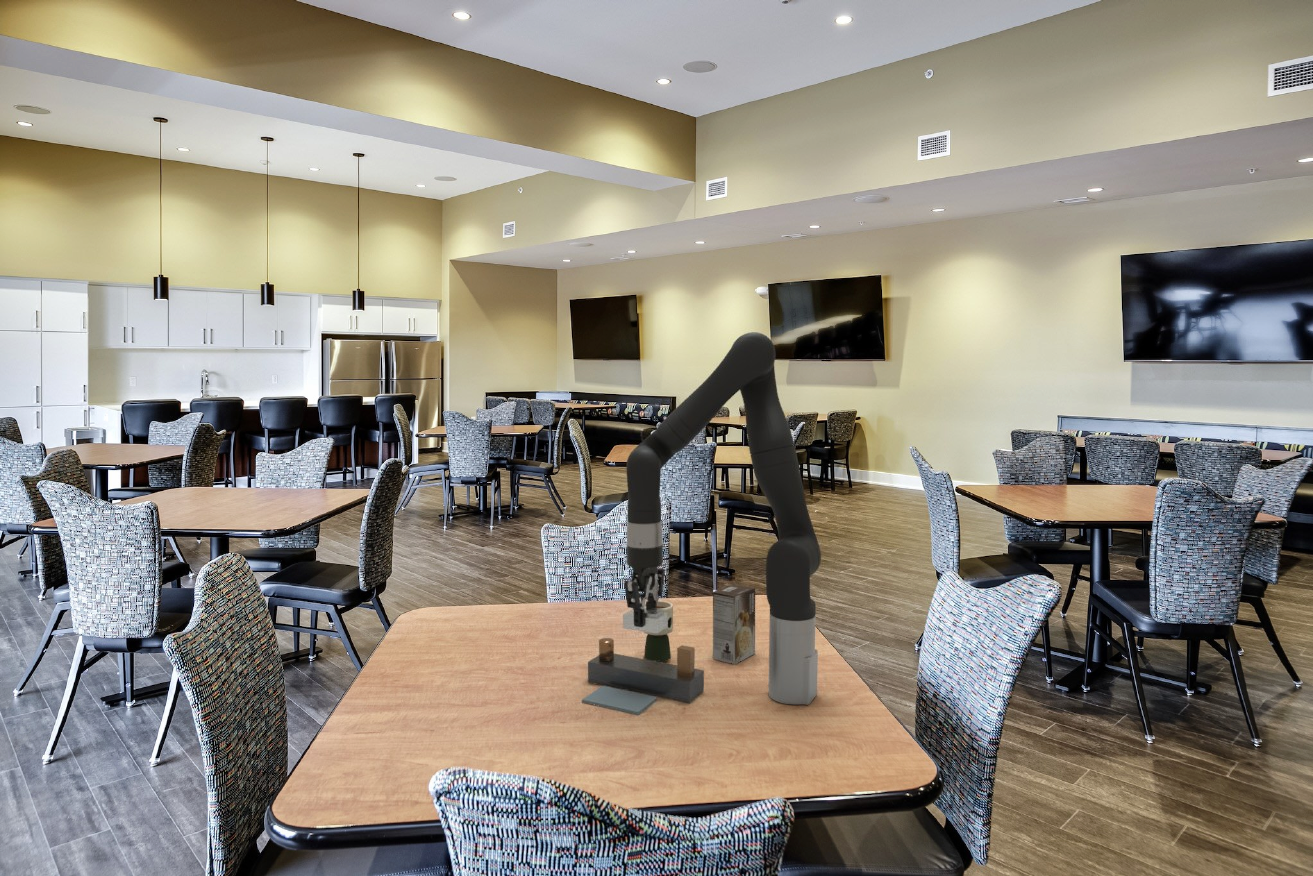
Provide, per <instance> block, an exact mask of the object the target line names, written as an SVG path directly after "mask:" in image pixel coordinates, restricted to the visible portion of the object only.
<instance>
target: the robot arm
mask: <svg viewBox="0 0 1313 876" xmlns="http://www.w3.org/2000/svg"><path fill="white" fill-rule="evenodd" d="M775 361H776V347H775V344H774V343H773V342H772V340H771V338H770V337H768V336H767V335H766V334H763V333H761V332H754V331H751V332H747V333H744V334H741V335H740V336H739V337H738V338H737V339H736V340H735V341H734V342H733V344H732V345H731V348H730V349H729V350H728V352H726V355H725V356H724V358H723V359H722V360H721V362H720V363H719V364H718V365H717V367H716V368H715V369H714V370H713V372H712V373H711V374H709V376H708V377H707V378H706V379H705V380H704V381H703V382H702V383H701V384H700V385H699V386H698V387H697V388H696V389H695V390H694V391H692V393H690V395H688V397H686V399H684V400H683V401H682V402H681V403H680V404H678V406H677V407H676V408H675V409H674V410H673V411H672V412H670V414H668V416H667V417H666V418H665V419H664V420H663V421H662V422H661V423H660V424H659V425H658V426H657V427H656V429H655V430H654V431H653V432H652V433H651V434H649V435H648V436H647V437H646V438H645V439H643V440H642V441H641V442H640V443H639V444H638V445H637V446H636V447H635V448H634V449H633V450H632V451H631V452H630V453H629V455H628V457H627V460H626V467H625V468H626V469H625V470H626V485H627V495H628V497H627V507H626V508H627V513H626V514H627V525H626V564H627V566H629V567H630V568H632V573H631V579H630V580H625V581H624V583H623V584H624V585H623V586H624V591H625V598H626V605H627V608H630V609H633V610H634V626H636V627H643V626H644V625H645V609H644V607H645V602H646V610H648V609H650V608H657V602H658V601H660V598H661V597H662V596H663V590H664V579H665V568H662V567H661V566H662V565H663V564H664V563H663V562H664V552H663V551H664V549H663V548H664V545H663V544H664V543H663V539H664V538H663V536H664V534H663V527H662V526H663V525H662V503H661V502H662V501H661V495H660V494H661V471H662V468H663V467H664V466H665V465H666V464H667V463H668V462H669V461H670V460H671V459H672V457H674V456H675V455H676V454H677V453H679V452H681V451H682V450H684V449H685V448H686V447H687V446H688V445H689V444H690V443H691V442H692V441H693V440H694V439H695V438H696V437H697V436H698V435H700V433H701V432H702V431H703V430H704V429H705V428H706V427H707V426H708V424H709V423H710V422H711V421H712V420H713V419H714V417H715V416H716V415H717V414H718V412H720V410H721V409H722V408H723V407H724V406H725V404H726V403H727V402H728V401H729V400H731V398H733V397H734V396H735V394H737V393H738V392H739V391H740V394H741V397H742V402H743V405H744V412H745V426H746V435H747V445H748V451H749V454H750V461H751V463H752V469H753V473H754V476H755V480H756V482H757V484H758V485H759V488H760V490H761V491H762V493H763V495H764V497H765V498H766V500H767V502H768V503H769V505H770V507H771V509H772V511H773V515H774V518H775V522H776V523H775V524H776V527H777V528H776V529H777V532H778V533H777V534H778V541H775V542H773V544H772V545H771V546H770V547H769V550H768V551H767V554H766V559H765V586H766V587H765V589H766V591H765V592H766V600H767V602H768V604H769V605H768V606H769V633H768V634H769V636H768V637H769V638H768V640H769V641H768V642H769V645H768V696H769V698H770V699H771V700H774V701H775V702H778V703H779V704H785V705H807V706H809V705H810V704H811V703H812V702H813V700H814V698H816V697H817V695H818V661H819V660H818V659H819V652H818V649H816V612H817V611H816V609H817V608H816V607H817V606H816V602H815V600H814V599H812V597H811V576H812V575H814V574H815V573H816V572H817V571H818V570H819V567H820V565H821V560H822V553H821V548H820V544H819V541H818V539H817V535H816V532H815V529H814V526H813V523H812V520H811V516H810V512H809V509H808V506H807V505H808V504H807V501H806V497H805V496H806V495H805V490H804V485H803V482H802V481H803V480H802V476H801V470H800V464H799V460H798V455H797V451H796V446H795V442H794V438H793V434H792V432H791V428H790V425H789V423H788V419H787V417H786V414H785V412H784V410H783V407H782V405H781V402H780V397H779V394H778V387H777V381H776V371H775ZM659 597H660V598H659Z"/></svg>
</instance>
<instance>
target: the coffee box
mask: <svg viewBox="0 0 1313 876" xmlns="http://www.w3.org/2000/svg"><path fill="white" fill-rule="evenodd" d="M755 654H756V587H752V586H746V585H740V584H735V583H734V584H730V585H728V586H725V587H722V588H720V589H718V590H715V591H713V592H712V659H713V660H715V661H719V662H723V661H724V663H727V664H731V663H733V664H732V665H737V664H739V663H740V661H741V662H742V661H744V660H745V659H747V658H749V657H752V656H753V655H755ZM738 662H739V663H738ZM736 663H737V664H736Z"/></svg>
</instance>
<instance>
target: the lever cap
mask: <svg viewBox="0 0 1313 876" xmlns="http://www.w3.org/2000/svg"><path fill="white" fill-rule="evenodd" d="M667 627H668V613H666V612H664V609H658V608H650V609H648V610H645V625H644V626H643V627H636V626H634V610H633V608H631V609H629V610H628V611H626V612H625V613H623V614H622V629H623V630H631V631H636V632H637V631H638V632H643V633H644V632H650V633H659V632H660V631H662V630H663V629H665V628H667Z"/></svg>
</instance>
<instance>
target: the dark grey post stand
mask: <svg viewBox="0 0 1313 876" xmlns="http://www.w3.org/2000/svg"><path fill="white" fill-rule="evenodd" d="M614 641H615V640H614V639H613V638H609V637H606V638H605V637H603V638H600V639H599V640H598V655H596V656H595V657H594V658H592V659H590V660H588V661H587V682H588V683H591V684H594V683H595V684H596V685H600V686H606V687H608V686H609V687H611V688H616V689H620V690H625V691H630V692H635V693H639V694H644V695H649V696H654V697H657V698H662V699H665V700H671V701H676V702H679V703H680V702H681V703H684V704H691V703H692V702H693V701H695V700H696V699H697V698H698V697H699V696H700V695H701V694H702V693H703V692H704V688H705V687H704V686H705V685H704V683H705V680H704V679H705V670H704V669H699V668H695V667H696V666H695V657H696V656H695V653H696V652H695V651H696V649H695V647H694V646H688V645H683V644H681V645H679V646H678V647H677V648H676V651H677V653H676V657H677V658H676V659H677V660H676V664H672V663H667V662H663V661H658V662H657V661H654V660H647V659H645V658H641V657H640V658H639V657H635V656H630V655H624V654H618V653H614V651H615V650H614V649H615V648H614V647H615V646H614V645H615V642H614ZM595 684H594V685H595Z"/></svg>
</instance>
